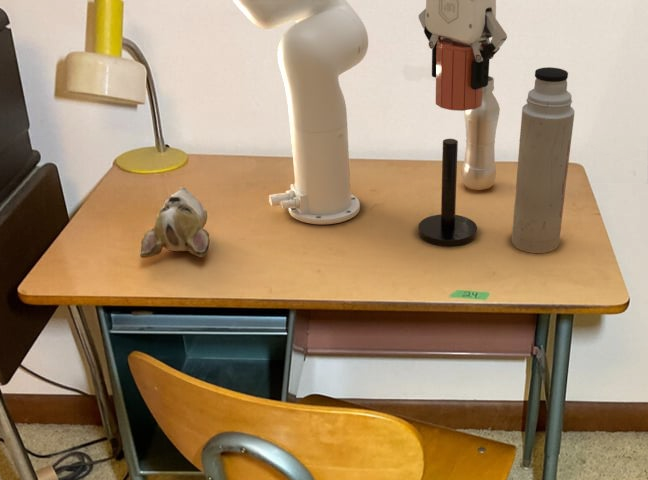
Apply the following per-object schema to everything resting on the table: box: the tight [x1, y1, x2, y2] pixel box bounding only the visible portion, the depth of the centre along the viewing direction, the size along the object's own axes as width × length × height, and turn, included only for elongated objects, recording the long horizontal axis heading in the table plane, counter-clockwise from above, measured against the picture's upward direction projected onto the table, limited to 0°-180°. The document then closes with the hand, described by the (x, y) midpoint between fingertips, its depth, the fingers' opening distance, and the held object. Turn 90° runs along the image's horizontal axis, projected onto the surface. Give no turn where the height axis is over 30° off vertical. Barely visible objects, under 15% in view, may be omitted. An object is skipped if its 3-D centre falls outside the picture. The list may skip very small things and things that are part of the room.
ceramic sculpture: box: [139, 186, 211, 259], centre depth 136 cm, size 11×9×15 cm
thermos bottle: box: [511, 66, 575, 254], centre depth 134 cm, size 8×8×28 cm
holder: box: [418, 138, 478, 248], centre depth 139 cm, size 10×10×16 cm
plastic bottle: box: [461, 75, 501, 191], centre depth 154 cm, size 6×7×20 cm
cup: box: [435, 37, 483, 112], centre depth 126 cm, size 7×7×9 cm
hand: (459, 80), depth 127 cm, fingers closed on cup, 7 cm apart
